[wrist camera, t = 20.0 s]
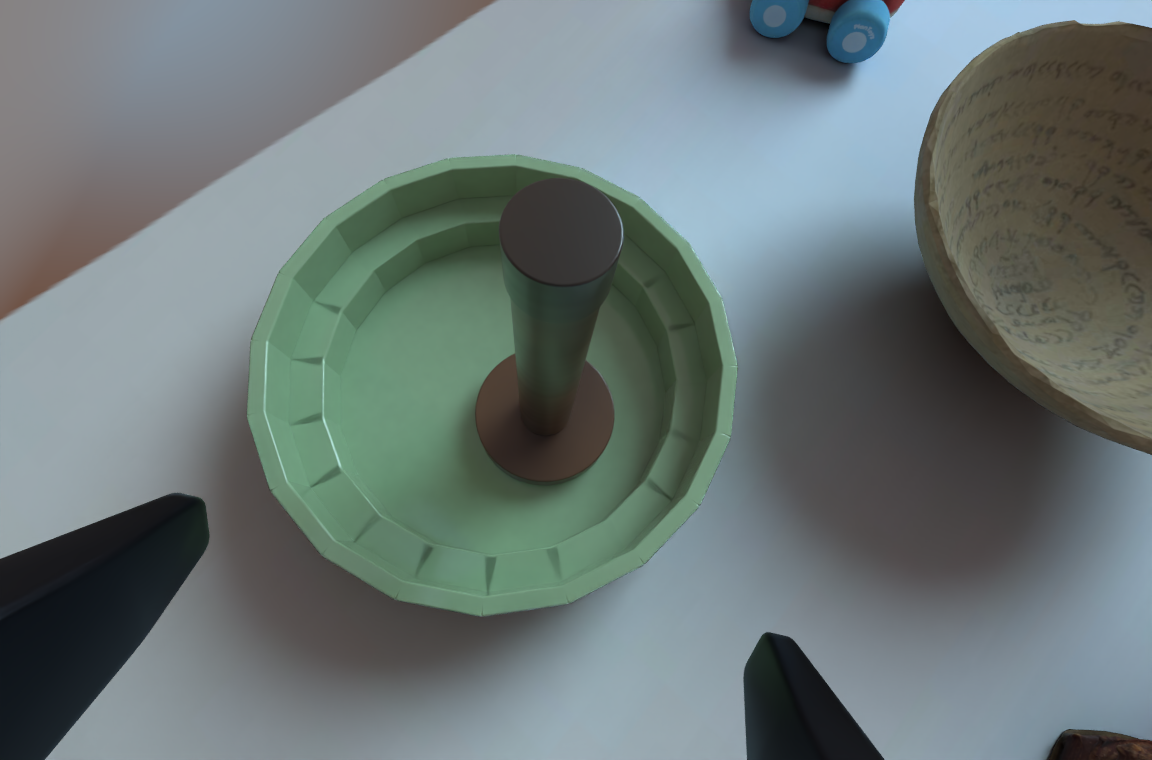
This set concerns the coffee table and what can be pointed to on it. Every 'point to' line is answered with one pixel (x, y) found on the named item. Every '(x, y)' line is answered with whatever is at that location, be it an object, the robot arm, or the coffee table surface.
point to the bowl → (1050, 219)
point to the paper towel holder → (552, 334)
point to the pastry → (1100, 746)
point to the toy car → (850, 6)
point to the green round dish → (451, 386)
